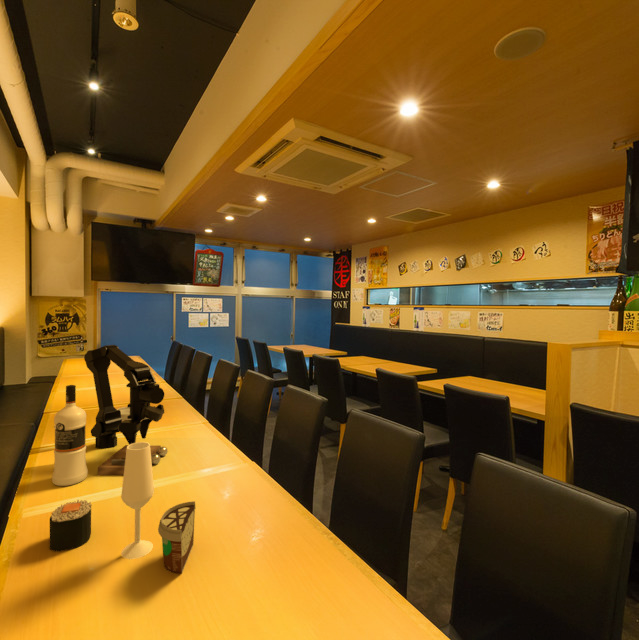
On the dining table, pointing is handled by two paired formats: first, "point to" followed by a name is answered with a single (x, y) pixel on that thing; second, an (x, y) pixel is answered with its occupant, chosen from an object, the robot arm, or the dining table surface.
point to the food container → (177, 535)
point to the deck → (119, 462)
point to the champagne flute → (137, 492)
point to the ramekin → (124, 413)
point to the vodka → (70, 442)
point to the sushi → (70, 525)
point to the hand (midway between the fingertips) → (138, 442)
